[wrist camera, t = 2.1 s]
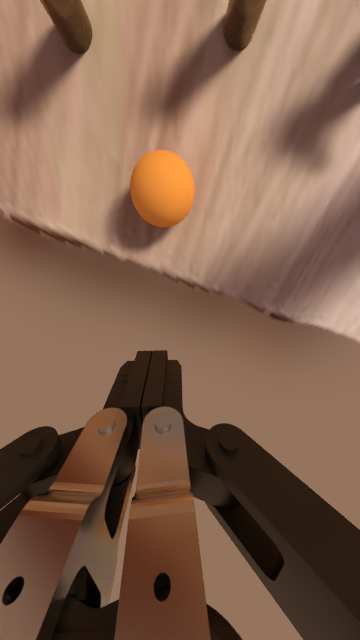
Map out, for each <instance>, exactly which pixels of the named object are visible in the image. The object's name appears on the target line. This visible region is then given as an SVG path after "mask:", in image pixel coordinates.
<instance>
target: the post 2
mask: <svg viewBox="0 0 360 640" xmlns="http://www.w3.org/2000/svg"><path fill="white" fill-rule="evenodd" d="M265 3H266V0H229V3H228V8H227V12H226V17H225V22H224V36H225V40H226V42H227V44H228V45H229V47H230V48H232V49H234V50H242V49H244V48H245V47H246V46H247V45H248V44H249V43H250V41H251V39H252V37H253V34H254V32H255V29H256V26H257V24H258V21H259V19H260V16H261V13H262V11H263V8H264V5H265Z"/></svg>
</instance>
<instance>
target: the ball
mask: <svg viewBox="0 0 360 640" xmlns="http://www.w3.org/2000/svg"><path fill="white" fill-rule="evenodd" d="M194 191H195V190H194V181H193V177H192V174H191V172H190V170H189V168H188V166H187V165H186V163H185V162H184V161H183V160H182V159H181V158H180V157H179V156H178V155H176V154H174V153H172V152H170V151H166V150H155V151H152V152H149V153H147V154H146V155H144V156H143V157H142V158H141V159H140V160H139V161H138V163H137V164H136V166H135V168H134V170H133V172H132V176H131V181H130V192H131V198H132V201H133V204H134V206H135V208H136V210H137V212H138V213H139V214H140V216H141V217H142V218H143V219H144V220H145V221H147V222H148V223H150V224H152V225H154V226H157V227H170V226H174V225H176V224H178V223H179V222H181V221H182V220H183V219H184V218H185V217H186V216H187V214H188V213H189V211H190V209H191V207H192V204H193V200H194Z"/></svg>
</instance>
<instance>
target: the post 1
mask: <svg viewBox="0 0 360 640" xmlns="http://www.w3.org/2000/svg"><path fill="white" fill-rule="evenodd" d="M40 1H41V3H42V4H43V6H44V8H45V10H46V11H47V13H48V15H49V16H50V18H51V20H52V21H53V23H54V25H55V26H56V28H57V30H58V32H59V33H60V35H61V37H62V38H63V40H64V42H65V43H66V45H67V46H68V47H69V48H70V49H71V50H72V51H74V52H76V53H83V52H85V51H86V50H87V49H88V48H89V46H90V44H91V40H92V28H91V24H90V21H89V19H88V16H87V14H86V11H85V9H84V7H83V4H82V2H81V0H40Z"/></svg>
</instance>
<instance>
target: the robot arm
mask: <svg viewBox="0 0 360 640" xmlns="http://www.w3.org/2000/svg"><path fill="white" fill-rule="evenodd" d="M167 356H168V355H167V351H166V350H164V351H138V352H137V355H136V358H135V361H127V362H126V363H125V364H124V365H123V366H122V367H121V368H120V370H119V372H118V375H117V377H116V380H115V383H114V384H113V386H112V389H111V391H110V394H109V396H108V398H107V401H106V403H105V405H104V408H103V410H101V411H99V412H98V413H96V414H95V415H93V416H92V417H91V418H90V419H89V421H88V422H87V424H86V425H85V427H83V428H80V429H78V430H74V431H71V432H68V433H65V434H61V435H58V433H57V431H56V430H55V429H54V428H52V427H48V426H46V427H45V426H44V427H39V428H36V429H33V430H31V431H29V432H27V433H25V434H24V435H22V436H20V437H19V438H17V439H16V440H14V441H13V442H11V443H10V444H8V445H6V446H5V447H3V448H2V449H0V509H1V508H3V507H4V506H5V505H7V504H8V503H9V502H10V501H11V500H13V499H14V498H15V497H16V496H18V495H19V494H20V495H19V496H18V497H17V498H15V499H14V500H13V501H12V502H10V503H9V504H8V505H7V506H6V507H4V508H3V509H2V510H1V511H0V640H242V639H241V637H240V635H239V634H238V633H237V632H236V631H235V629H234V628H233V627H232V626H231V625H230V623H229V622H228V621H227V620H226V619H225V618H224V617H223V616H222V615H220V614H219V613H218V612H217V611H216V610H215V609H213V608H212V607H211V606H209V605H207V604H206V597H205V589H204V580H203V572H202V564H201V556H200V547H199V539H198V531H197V522H196V515H195V506H194V499H193V497H196V498H198V499H200V500H203V501H205V503H206V504H207V506H208V508H209V509H210V511H211V512H212V513H213V515H214V516H215V518H216V519H217V520H218V522H219V523H220V525H221V526H222V527H223V529H224V530H225V531H226V533H227V534H228V535H229V537H230V538H231V540H232V541H233V543H234V544H235V545H236V547H237V548H238V549H239V551H240V552H241V553H242V555H243V556H244V558H245V559H246V560H247V562H248V563H249V565H250V566H251V567H252V569H253V570H254V572H255V573H256V574H257V576H258V577H259V579H260V580H261V581H262V583H263V584H264V586H265V587H266V588H267V590H268V591H269V592H270V594H271V595H272V596H273V598H274V599H275V601H276V602H277V604H278V605H279V606H280V608H281V609H282V611H283V612H284V613H285V615H286V616H287V617H288V619H289V620H290V621H291V623H292V624H293V626H294V627H295V629H296V630H297V631H298V633H299V634H300V635H301V637H302V638H303V640H360V530H359V529H358V528H357V527H355V526H354V525H353V524H352V523H351V522H349V521H348V520H347V519H346V518H345V517H344V516H342V515H341V514H340V513H339V512H338V511H336V510H335V509H334V508H333V507H332V506H331V505H329V504H328V503H327V502H326V501H325V500H324V499H322V498H321V497H320V496H319V495H318V494H316V493H315V492H314V491H313V490H312V489H310V488H309V487H308V486H307V485H306V484H305V483H303V482H302V481H301V480H300V479H299V478H298V477H296V476H295V475H294V474H293V473H292V472H290V471H289V470H288V469H287V468H286V467H284V466H283V465H282V464H281V463H280V462H279V461H277V460H276V459H275V458H274V457H273V456H271V455H270V454H269V453H268V452H267V451H266V450H264V449H263V448H262V447H261V446H260V445H258V444H257V443H256V442H255V441H254V440H253V439H251V438H250V437H249V436H248V435H247V434H245V433H244V432H243V431H242V430H241V429H239V428H237V427H236V426H234V425H231V424H225V423H224V424H217V425H215V426H213V427H212V428H211V429H210V430H208V429H205V428H202V427H198V426H196V425H194V424H193V423H191V422H190V421H189V420H187V418H186V417H185V415H184V413H183V407H182V374H181V365H180V364H179V362H178V361H177V360H168V357H167ZM138 449H140V455H139V465H138V476H137V485H136V492H135V496H134V497H133V498H132V501H131V506H130V511H129V519H128V527H127V536H126V544H125V553H124V562H123V570H122V578H121V588H120V596H119V600H117V601H114V602H112V603H110V604H109V599H110V595H111V591H112V586H113V582H114V577H115V571H116V565H117V551H118V542H119V537H120V532H121V528H122V524H123V520H124V516H125V512H126V508H127V504H128V500H129V495H130V492H131V488H132V483H133V479H134V475H135V470H136V465H135V462H136V457H137V452H138Z"/></svg>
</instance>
